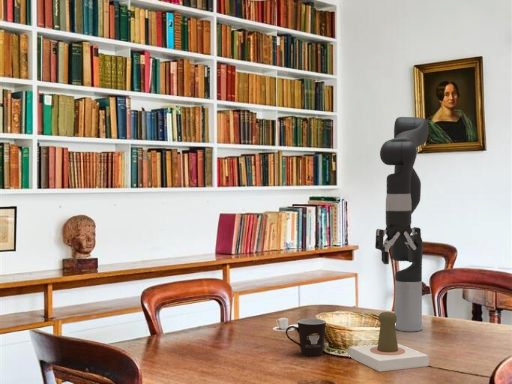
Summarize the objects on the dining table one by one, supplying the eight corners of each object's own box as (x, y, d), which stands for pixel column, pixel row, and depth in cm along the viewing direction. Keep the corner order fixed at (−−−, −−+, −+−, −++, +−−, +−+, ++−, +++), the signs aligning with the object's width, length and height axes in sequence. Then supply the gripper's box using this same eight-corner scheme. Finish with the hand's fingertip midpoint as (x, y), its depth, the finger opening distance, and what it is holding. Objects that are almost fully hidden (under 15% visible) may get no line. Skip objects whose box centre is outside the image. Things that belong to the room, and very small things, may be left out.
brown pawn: (398, 352, 210) (398, 314, 210) (377, 352, 211) (376, 314, 211) (398, 347, 216) (398, 310, 216) (377, 347, 217) (377, 310, 217)
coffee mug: (328, 351, 225) (328, 319, 225) (322, 358, 217) (322, 325, 217) (292, 349, 229) (292, 317, 229) (284, 355, 221) (284, 322, 221)
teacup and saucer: (301, 329, 260) (301, 318, 260) (290, 333, 254) (290, 321, 253) (279, 326, 265) (279, 315, 265) (268, 330, 258) (268, 319, 258)
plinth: (348, 356, 219) (348, 345, 219) (394, 351, 225) (394, 341, 225) (379, 371, 202) (379, 359, 202) (428, 366, 208) (428, 354, 208)
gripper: (412, 207, 223) (412, 260, 224) (371, 208, 218) (371, 262, 219) (426, 208, 216) (426, 263, 217) (383, 210, 211) (383, 266, 212)
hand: (398, 263), depth 218 cm, fingers open, 8 cm apart
